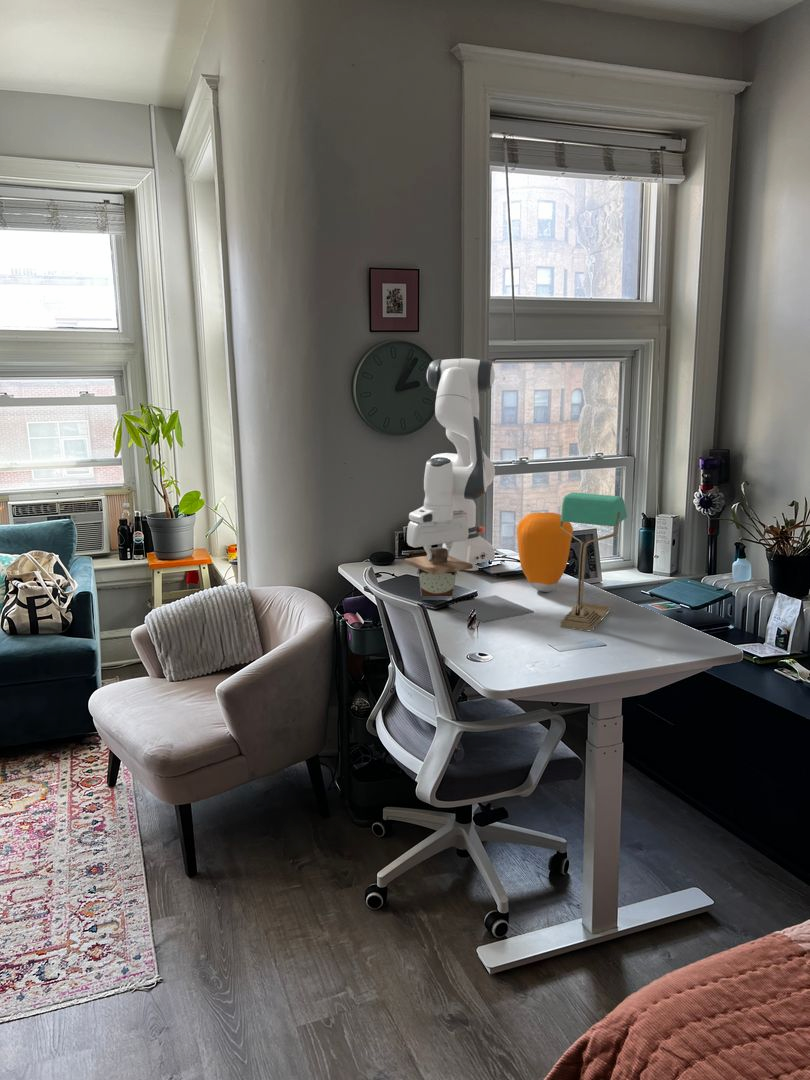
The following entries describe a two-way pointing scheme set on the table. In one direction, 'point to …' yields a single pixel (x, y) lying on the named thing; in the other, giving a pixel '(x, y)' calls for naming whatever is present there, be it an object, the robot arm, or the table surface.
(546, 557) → the orange tapered rounded form
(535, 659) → the table surface
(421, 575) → the food container
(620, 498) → the banker's lamp
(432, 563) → the walnut cover
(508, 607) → the charcoal mat
